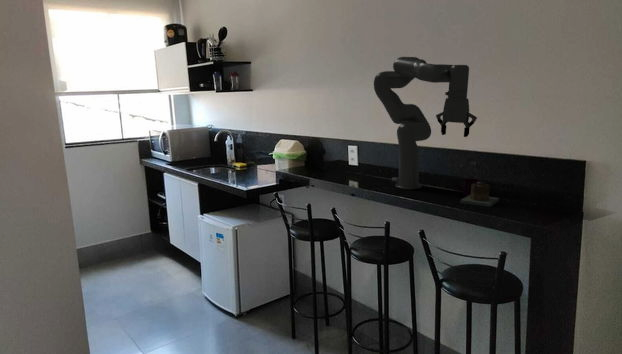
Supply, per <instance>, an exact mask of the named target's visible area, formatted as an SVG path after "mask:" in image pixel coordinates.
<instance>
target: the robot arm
mask: <svg viewBox="0 0 622 354" xmlns="http://www.w3.org/2000/svg"><path fill="white" fill-rule="evenodd" d="M392 69H393V71H392V70H389V71H388V70H385V71H380V72H378V73H377V74H376V75H375V77H374V79H373V89H374V92H375V95H376V96H377V98H378V99H379V101H381V104H382V105H383V107H384V109H385V110H386V112H387V114H388V116H389V118H390V119H391V121H392V122H393V123H394V124H396V125H399V126H398V127H397V129H396V137H397V143H398V176H397V177H395V176H393V177H392V178H391V182H396V183H395V188H396V189H401V190H418V189H421V188H422V187H423V185H422V184H421V183H419V182H420V181H419V180H420V179H419V175H420V174H419V173H420V172H419V171H420V150H419V147H418V144H417V142H422V141H426V140H428V139H429V138H430V137H431V136H432V135H431V134H432V127H431V124H430V123H429V121H428V119H427V118H426V116H425V114H424V113H423V112H422V110H421V108H420V107H419V106H418V105H416V104H414V103H404V102H403V101H402V99H401V98H400V96H399V95H398V94H397V93H396V92H395V91H394V90H392V89H403V88H405V87H406V86H408V85H409V84H410V83H411V82H412V81H413V80H415V79H417V80H419V81H422V82H428V83H434V84H435V83H448V90H447V91H445V93H444V96H447V98H445V101H444V105H443V108H442V109H443V111H442V112H440V113H438V114H436V115H435V117H436V119H437V122H438V123H439V124H440V133H441V135H442V136H445V135H446V134H447V125H446V124H447V123H456V124H458V123H459V124H463V125H464V126H465V127H464V131H463V137H464V138H467V137H468V136H469V135H470V129H471V127H472V126H473V125H474V124H475V123H476V121H477V119H478V117H477V116H476V115H474V114H472V113H470V103H469V102H470V100H469V98H468V89H469V79H470V78H469V75H470V67H469V65H467V64H441V63H440V64H435V63H428V62H427V61H426V60H424V59H421V58H419V57H417V56H400V57H398V58H396V59H395V60H394V62H393V64H392ZM441 117H442V118H441ZM470 119H471V121H469V120H470Z"/></svg>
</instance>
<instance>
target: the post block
mask: <svg viewBox="0 0 622 354" xmlns="http://www.w3.org/2000/svg"><path fill="white" fill-rule="evenodd" d="M484 184H486V183H485V182H484V181H480V182H477V186H484ZM499 201H500V198H499V197H495V196H489V200H487V201H475V200H472V199H471V195H469V196H465V197H463V198H462V199H460V201H459V204H464V205H473V206H480V207H488V208H491V207H493V205H495V204H497V203H498V202H499Z"/></svg>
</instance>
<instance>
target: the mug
mask: <svg viewBox="0 0 622 354" xmlns="http://www.w3.org/2000/svg"><path fill="white" fill-rule="evenodd" d="M461 182H463V188H462V187H461ZM477 182H481V180H480V179H478V178H465V179H464V178H463V179H459V180H458V188H459V189H460V190H461V191H462V192H463V196H465V197H467V196H469V195H471V185H472V184H475V183H477Z"/></svg>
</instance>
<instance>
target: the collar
mask: <svg viewBox="0 0 622 354" xmlns="http://www.w3.org/2000/svg"><path fill="white" fill-rule="evenodd" d="M490 186H491V185H490V184H487V183H485V184H484V186H477V183H475V184H472V185H471V199H472V200H475V201H487V200H489V197H490Z"/></svg>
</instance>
